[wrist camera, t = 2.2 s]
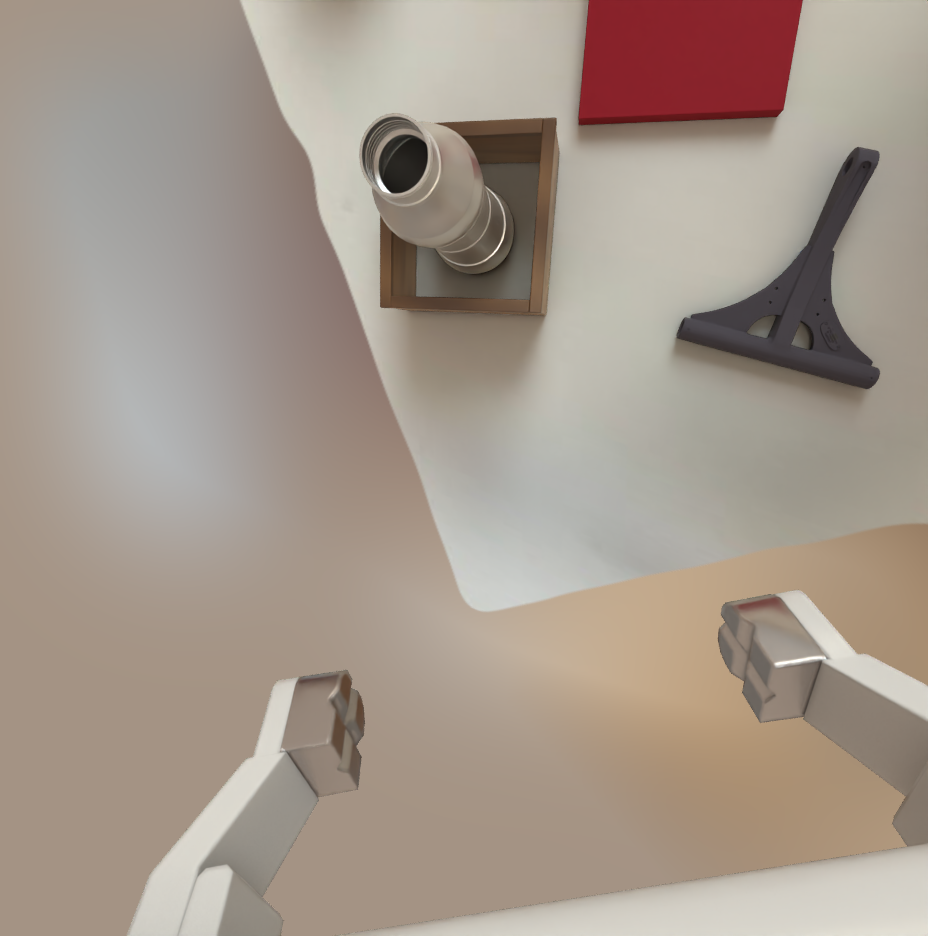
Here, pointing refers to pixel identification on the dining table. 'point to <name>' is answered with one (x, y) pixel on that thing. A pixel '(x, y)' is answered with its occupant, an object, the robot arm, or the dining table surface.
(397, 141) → the metal bottle
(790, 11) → the cushion mat
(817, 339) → the squeegee
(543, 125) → the wooden box
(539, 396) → the dining table surface
